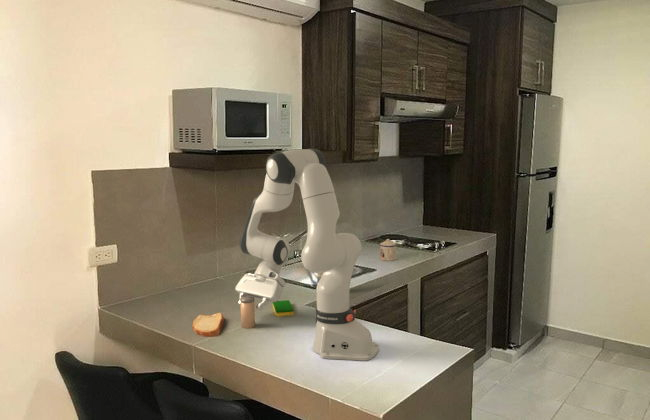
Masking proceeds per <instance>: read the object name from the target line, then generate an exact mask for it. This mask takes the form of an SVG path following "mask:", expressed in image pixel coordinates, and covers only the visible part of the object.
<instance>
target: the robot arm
mask: <svg viewBox="0 0 650 420" xmlns="http://www.w3.org/2000/svg"><path fill="white" fill-rule="evenodd" d="M265 173H266V175H265V178H264V184H263V189H262V191H261V193H258V194H257V195H256V196H255V197H254V198H253V201H252V202H251V206H250V209H249V211H248V212H249V213H248V215H247V219H246V222H245V226H244V228H243V231H242V233H241V235H240V238H239V242H238V245H239V248H240V251H241V252H242V253H243V254H246V255H250V256H253V257H255V258H259V259H262V261H261V262H259V264H258V265H257V268H256V269H255V271H254V273H251V272H248V273H246V274H244V275H243V276H242V277H241V278H240V280H239V281H238V283H237V284H236V286H235V287H234V288H235V289H234V290H235V292H236V293H237V294H238V295H239V300H238V302H237V303H238V305H239V306H241V304H240V298H241V297H244V296H252V297H254V299H259V300H262V301H261V302H260V303H257V305H256V307H255V308H256V310H259V311H262V309H263V307H265V306H266V305H267V304H268V303H269V302H272V303H273V302H276V301H280V300H279V299H280V298H281V295H282V293H283V290H284V288H285V286H286V281H285V280H284V279H283V278H282V276H280V272H281V270H282V268H283V267H284V266H285V264H286V262H287V259H288V257H289V254H290V251H291V245H290V243H289V241H287V240H285V238H281V237H277V236H275V235H270V234H267V233H264V232H262V231H260V230H259V225H260V220H261V218H262V215H263V213H276V212H280V211H282V210H286V209H287V208H288V207H290V205H291V204H292V201H293V197H294V194H295V193H294V192H295V191H294V190H295V184H297V186H298V187H299V190H300V193H301V194H300V195H301V199H302V203H303V208H304V212H305V215H306V223H307V233H306V235H307V236H306V242H305V244H304V246H303V248H302V251H301V253H300V259H301V263H302V265H303V266H304V268H305V269H306V270H307V271H308V272H310V273H315V274H320V273H322V275H321V277H320V279H319V281H317V285H316V308H315V313H314V314H315V315H314V318H315V324H316V326H315V334H314V335H315V336H314V341H313V345H312V350H313V351H314V352H315V353H316V354H318V355H319V356H320V357H321V358H322V359H327V360H328V359H329V360H346V361H347V360H348V361H364V362H365V361H369V360H372V359H373V358H375V357H376V355H378V352H379V351H380V348H379V344H378V343H377V342H375V341H373V337H372V334H371V331H370V329H369V328H368V327H366V326H365V325H363V324H362V323H361V322H360V321H359V320H357V319H356V313H357V312H356V308H355V309H354V310H353V309H352V308H351V307H350V288H351V287H350V286H351V280H352V277H353V273H354V268H355V265H356V262H357V261H358V259H359V257H360V256H361V254H362V250H363V249H362V243H361V241H360V239H359V237H358V236H357V235H355V234H354V233H348V232H339V233H336V232H337V231H336V229H337V228H336V227H337V222H338V220H339V218H340V216H341V215H340V214H341V212H340V209H339V204H338V199H337V196H336V192H335V188H334V184H333V182H332V178H331V176H330V174H329V172H328V170H327V162H326V158H325V155H324V153H323V152H322V151H321V150H319V149H316V148H307V149H289V150H284V151H281V152H280V151H278V152H274V153H273V154H271V155H269V156H268V157H267V159H266V163H265Z"/></svg>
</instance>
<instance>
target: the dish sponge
mask: <svg viewBox="0 0 650 420" xmlns="http://www.w3.org/2000/svg"><path fill="white" fill-rule="evenodd" d="M272 308H273V310H274V311H273V312H274V315H275V317H287V316H294V315H295V314H294V313H295V312H294V308H293V306H292V303H291V301H290V300H289V299H288V300H287V299H286V300H278V301H276V302H272Z"/></svg>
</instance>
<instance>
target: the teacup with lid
mask: <svg viewBox="0 0 650 420" xmlns="http://www.w3.org/2000/svg"><path fill="white" fill-rule="evenodd" d="M379 246H380V250H379V251H380V252H379V253H380V254H379V255H380V260H381V261H385V262H392V261H395V260H396V258H397V255H396V254H397V251H396V250H397V248H396V246H397V243H396V242H393V241H392V240H390V239H389V238H387V239H386V240H385V241H382V242H380V243H379Z"/></svg>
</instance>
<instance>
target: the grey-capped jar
mask: <svg viewBox="0 0 650 420" xmlns="http://www.w3.org/2000/svg"><path fill="white" fill-rule="evenodd" d="M239 300H240V304H241V305H240V326H241V328H242V329H253V328H255V326H256V316H255V315H256V314H255V311H256V310H255V298H254V297H252V296H244V297H241V298H240V297H239Z"/></svg>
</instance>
